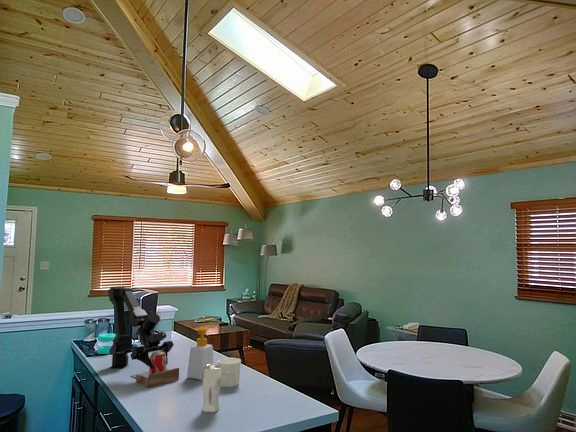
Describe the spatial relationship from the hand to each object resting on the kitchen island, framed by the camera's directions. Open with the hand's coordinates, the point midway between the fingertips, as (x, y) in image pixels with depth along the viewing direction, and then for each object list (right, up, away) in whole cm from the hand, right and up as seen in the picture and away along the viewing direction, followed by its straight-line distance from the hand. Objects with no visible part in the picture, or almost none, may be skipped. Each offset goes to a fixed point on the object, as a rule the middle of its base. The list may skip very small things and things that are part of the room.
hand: (159, 366), depth 174 cm
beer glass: (+29, -4, -31) cm, 42 cm away
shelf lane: (-1, -7, 0) cm, 7 cm away
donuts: (-45, -11, +47) cm, 66 cm away
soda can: (-1, -7, 0) cm, 7 cm away
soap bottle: (+18, -8, +9) cm, 21 cm away
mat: (-9, -7, +7) cm, 13 cm away
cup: (+31, -7, -3) cm, 32 cm away
